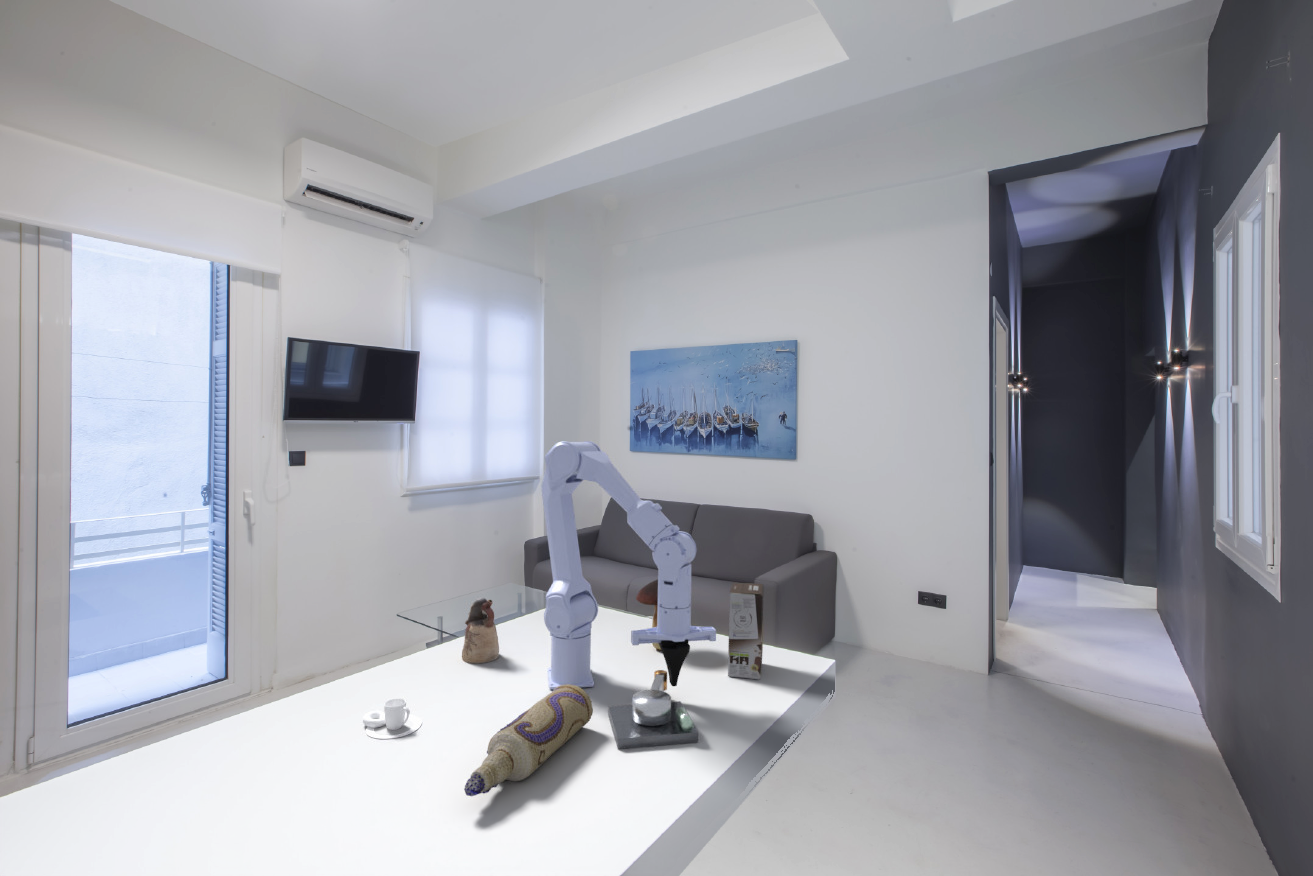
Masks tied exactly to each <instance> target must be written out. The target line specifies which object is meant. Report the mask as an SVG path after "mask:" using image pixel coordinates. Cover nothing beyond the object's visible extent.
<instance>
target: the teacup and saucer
mask: <svg viewBox="0 0 1313 876" xmlns="http://www.w3.org/2000/svg"><path fill="white" fill-rule="evenodd" d="M383 709H384V711H381V710H372V711H369V712H367V713H366V714H364V715H363V717H362V723H363V725H364V726H365V727H366V728H365V733H366V735H367V736H368V737H370V738H372V739H377V740H391V739H397V738H398V739H399V738H401V737H405V736H408V735H411V734H413V733H414V732H417V730H419V729H420V728H421V727H422V725H423V724H422V723H423V722H422V719H421V718H420V717H418V716H416V715H414V714H413V715H412V714H411V711H410V709H409V707H407V700H406V699H404V698H393V699H389V700H387V701H385V703H383ZM408 720H409V721H411V722H412V723H413V725H412V727H411V728H410V729H408V730H407V731H405V732H402V733H398V734H392V735H381V734H378V733H376V732H375V729H376V728H381V727H383V726H385V727H386V728H387V729H388V730H390V731H395V730H396V731H397V730H399V729H401V728H402V727H403V726H404V725H405V724H406V723H407V721H408Z"/></svg>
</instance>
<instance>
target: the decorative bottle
mask: <svg viewBox="0 0 1313 876" xmlns="http://www.w3.org/2000/svg"><path fill="white" fill-rule="evenodd" d="M593 712H594V709H593V703H592V700H591V698H590V695H588V693H587V692H586V691H585V690H584V689H583V688H582V687H581V688H580V687H578V686H575V685H571V684H564V685H560V686H558V687H556V688H555V689H552V691H551V692H550V693H548V694H547V695H545V697H542V698H541V699H540V700H538V701H536V703H534V705H532V706H531V707H530V708H529V709H527V710H526V711H524V712H523V713H521V714H519V715H518V716H517V717H516V718H515V719H513V720H511V722H510V723H507V724H506V726H504V727H503V728H500V730H499V731H497V732H496V733H495V734H494V735H493V736H492V737H491V738H490V740H489V742H488V746H487V750H486V754H487V755H486V757H485V758H484V760H483V761H482V763H481V765H480V766H479V767H477V768H476V769H475V770H474V771H473V772H472V773H471V774H470V778H468V779H467V780H466V783H465V785H464V788H463V789H464V794H465V795H466V796H469V797H473V796H477V795H480V794H487V793H489V792H490V791H491V790H492V789H493V788H497V786H498V785H499V784H500V783H503V782H504V781H505V780H506V781H510V782H518V781H519V782H520V781H523V780H525V779H527V778H528V777H530V775H532V774H533V773H534V772H535V771H537V769H539V767H540V766H541V765H543V764H544V762H546V761H547V759H549V758H550V757H551V756H553V754H554V753H555V752H556V751H557V750H558V749H559V748H561V747H562V746H564V744H565V743H566V742H568V741H569V740H570V739H571V738H572V737H573V736H574V735H576V733H577V732H578V731H579V730H581V729H582V728H583V727H585V726H586V725H587V724H588V723H589V722H590V721H591V719H592V716H593V714H594V713H593Z"/></svg>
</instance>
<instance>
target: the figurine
mask: <svg viewBox="0 0 1313 876" xmlns="http://www.w3.org/2000/svg"><path fill="white" fill-rule="evenodd" d="M492 605H493V600H492V599H488V600H487V599H486V598H485V597H480V598H477V599H476V600H475V601H474V602H473V603H472V604H471V605H470V610H469V613H468V618H467V620H465V622H464V624H465V625H466V628H465V631H464V641H463V642H464V643H463V646H462V651H461V659H462V662H465V663H469V664H483V663H489V662H492V661H495V660H497V659H498V657H499V655H500V646H499V645H500V643H499V637H498V632H497V627H496V624H495V621H494V620H495V612H494V610H493V608H492Z"/></svg>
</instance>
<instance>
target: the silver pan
mask: <svg viewBox="0 0 1313 876" xmlns="http://www.w3.org/2000/svg"><path fill="white" fill-rule="evenodd" d="M667 689H668V671H667V670H664V669H658V670H655V671H654V676H653V681H652V685H651V686H650V689H642V690H640V691H636V692H635V693H634V694H633V695H632V697H631V700H632V701H631V705H632V719H633V720H634V721H635V722H637V723H639V724H642V725H647V726H657V725H662V724H665V723H667V722H668V721H669V720H670V718H671V702H672V696H671V695H670V694H669V693H668V692H666V691H667Z"/></svg>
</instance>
